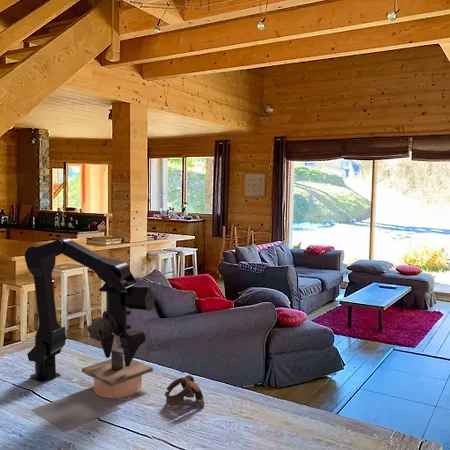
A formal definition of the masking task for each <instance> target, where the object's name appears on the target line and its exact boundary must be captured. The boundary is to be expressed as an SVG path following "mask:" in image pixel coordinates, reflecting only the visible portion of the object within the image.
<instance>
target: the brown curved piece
mask: <svg viewBox="0 0 450 450" xmlns="http://www.w3.org/2000/svg"><path fill="white" fill-rule="evenodd" d="M178 385H181V387H182V388H183V389H182V390H181V391H180V392H178V393H175V394H174V395H170V394H171V392H172V391H173V389H175V388H176V387H177V386H178ZM164 396H165V397H166V398H165V400H166V401H165V403H166V405H168V406H169V407H173V406H177V405H181V406H182V405H183V406H185V398H187V399H188V398H190V399H192V398H195V400H196V401H199V404H200V407H201V409H204V408H205V400H204V395H203V392H202V390H201V388H200V386H199V385H198V384H197V383H196V382H195V378H194V377H193V376H192V375H191V374H189V375H186V376H184V377H179V378H176V379H175V380H173V381H172V382H171V383H170V384H169V385H168V386H167V387H166V392H165V393H164Z"/></svg>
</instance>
